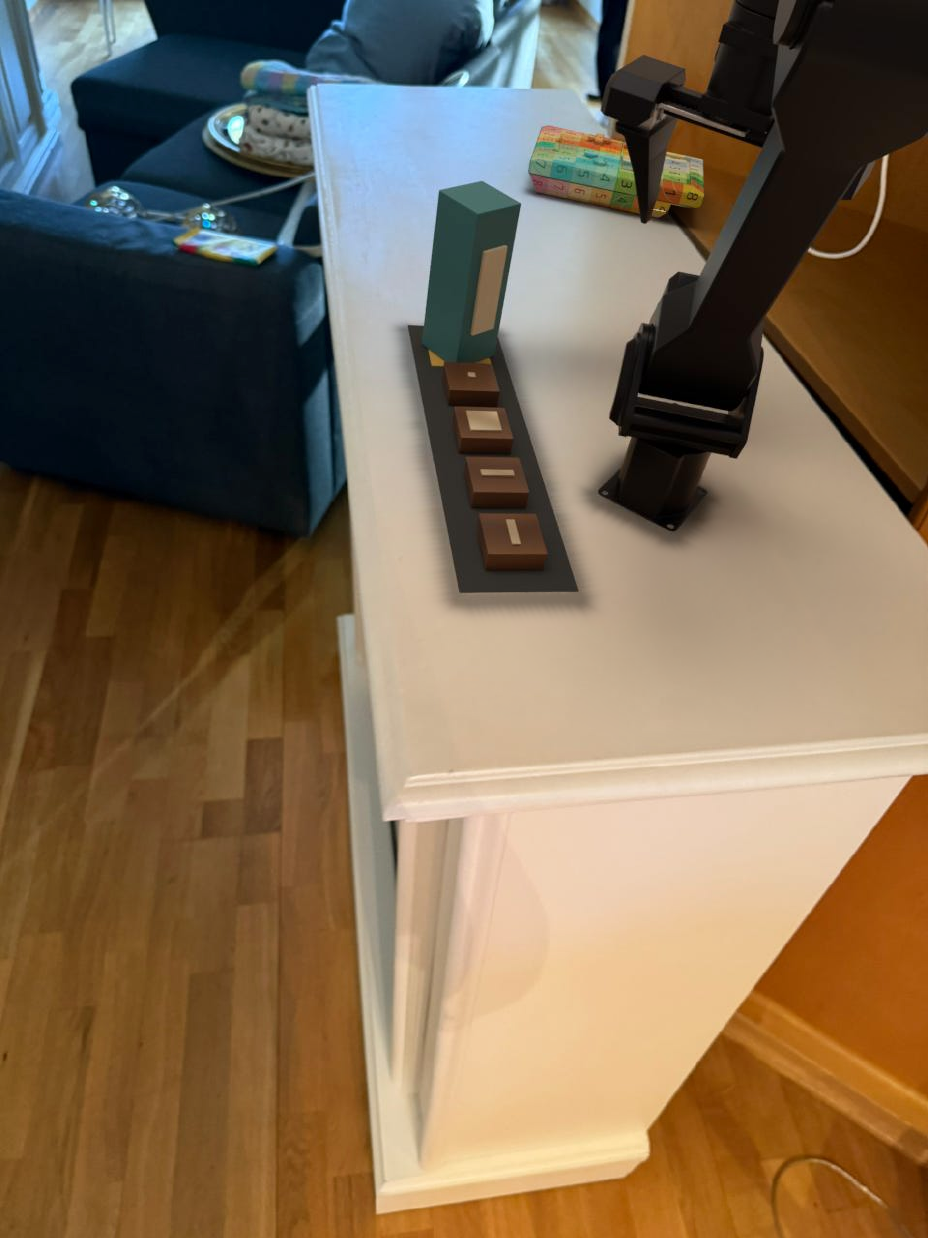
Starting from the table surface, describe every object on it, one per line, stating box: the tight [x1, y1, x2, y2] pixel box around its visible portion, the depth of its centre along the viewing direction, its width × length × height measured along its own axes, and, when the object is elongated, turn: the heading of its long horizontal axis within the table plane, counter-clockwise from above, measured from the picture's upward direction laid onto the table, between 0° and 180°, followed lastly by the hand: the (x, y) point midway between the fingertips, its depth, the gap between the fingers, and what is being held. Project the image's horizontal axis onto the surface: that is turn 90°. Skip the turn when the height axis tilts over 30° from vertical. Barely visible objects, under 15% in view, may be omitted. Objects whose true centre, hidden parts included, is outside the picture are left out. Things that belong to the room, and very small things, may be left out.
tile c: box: [452, 406, 513, 454], centre depth 69 cm, size 4×4×2 cm
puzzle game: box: [527, 124, 705, 218], centre depth 106 cm, size 12×5×20 cm
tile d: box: [442, 362, 500, 407], centre depth 73 cm, size 4×4×2 cm
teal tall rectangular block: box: [422, 180, 522, 363], centre depth 73 cm, size 5×4×13 cm
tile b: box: [463, 457, 529, 508], centre depth 64 cm, size 4×4×2 cm
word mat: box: [407, 324, 579, 594], centre depth 69 cm, size 33×8×1 cm, turn 8°
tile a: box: [476, 513, 548, 570], centre depth 60 cm, size 4×4×2 cm
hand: (699, 242), depth 69 cm, fingers open, 9 cm apart
